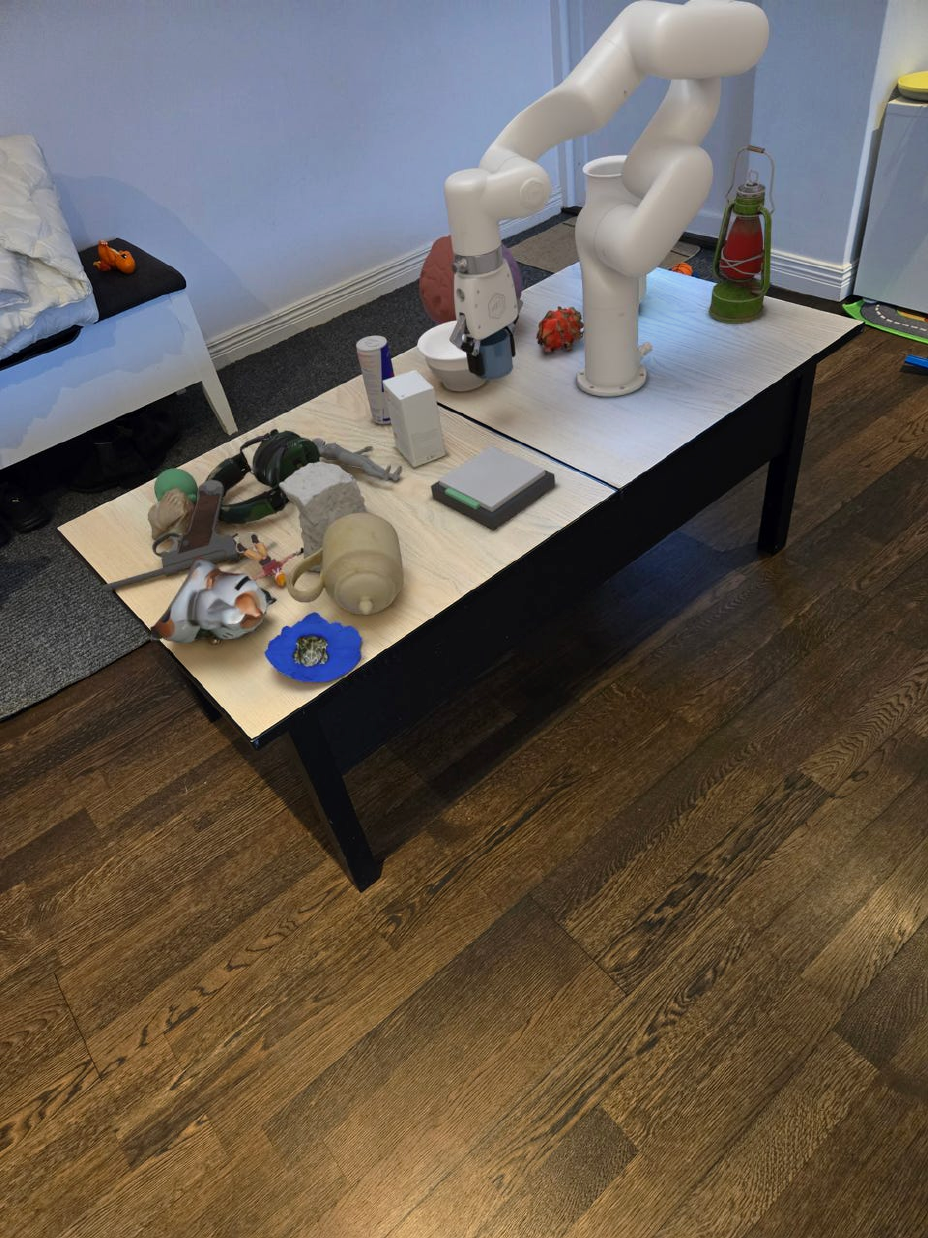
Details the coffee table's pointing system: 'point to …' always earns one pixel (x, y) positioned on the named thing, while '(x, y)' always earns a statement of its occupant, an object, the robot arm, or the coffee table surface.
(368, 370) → the beverage can
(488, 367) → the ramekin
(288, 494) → the decorative stone
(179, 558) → the handgun
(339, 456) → the action figure
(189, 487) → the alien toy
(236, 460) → the headphones
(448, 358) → the bowl
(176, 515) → the seashell
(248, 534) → the action figure
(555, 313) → the dragon fruit
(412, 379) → the small box
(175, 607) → the lucky cat figurine
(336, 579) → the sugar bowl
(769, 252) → the lantern
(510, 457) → the scale
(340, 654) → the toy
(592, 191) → the vase
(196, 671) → the coffee table surface
